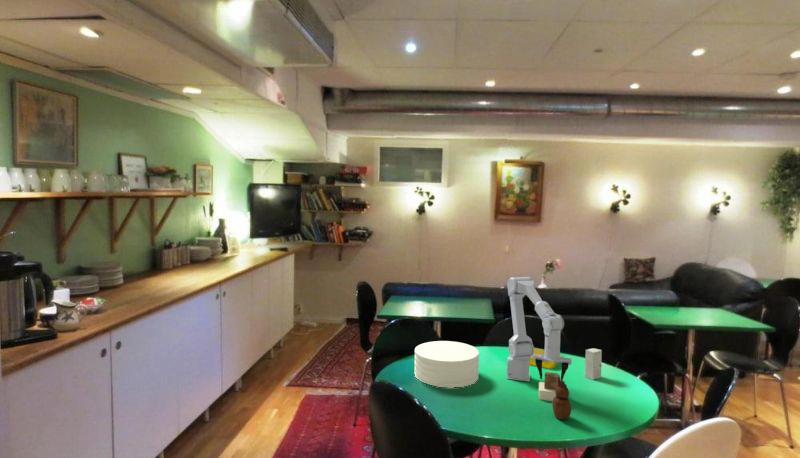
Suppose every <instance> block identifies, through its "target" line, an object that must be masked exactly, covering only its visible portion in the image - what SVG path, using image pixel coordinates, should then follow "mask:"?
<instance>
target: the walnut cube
mask: <svg viewBox="0 0 800 458" xmlns="http://www.w3.org/2000/svg"><path fill="white" fill-rule="evenodd" d="M558 375H559V373H558V372H550V371H549V372H548V371H545V372H544V389H551V390H556V387H557V386H558Z"/></svg>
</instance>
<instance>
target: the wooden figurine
mask: <svg viewBox="0 0 800 458" xmlns="http://www.w3.org/2000/svg"><path fill="white" fill-rule="evenodd" d="M555 394H556V396H555V397H554V398H553V401H551V403H552V405H551V406H552V410H553V415H554V417H555V418H557V419H558V420H560V421H561V420H563V421H564V420H568V419H569V417H570V415H571V414H572V404H571V401H570V399H569V396H570V390H569V388H568V387H567V384H566V383H565V380H564V377H563V378H561V375H560V374H558V386H557V387H556V390H555Z"/></svg>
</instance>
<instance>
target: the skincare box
mask: <svg viewBox="0 0 800 458" xmlns="http://www.w3.org/2000/svg"><path fill="white" fill-rule="evenodd" d="M602 351H603V350H602V349H598V348H594V347H593V348H588V349H585V355H584V356H585V357H584V358H585V359H584V361H585V362H584V364H585V365H584V366H585V367H584V378H587V379H589V380H596V379H600V378H602V361H603V360H602V359H603V358H602V353H603V352H602Z"/></svg>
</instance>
